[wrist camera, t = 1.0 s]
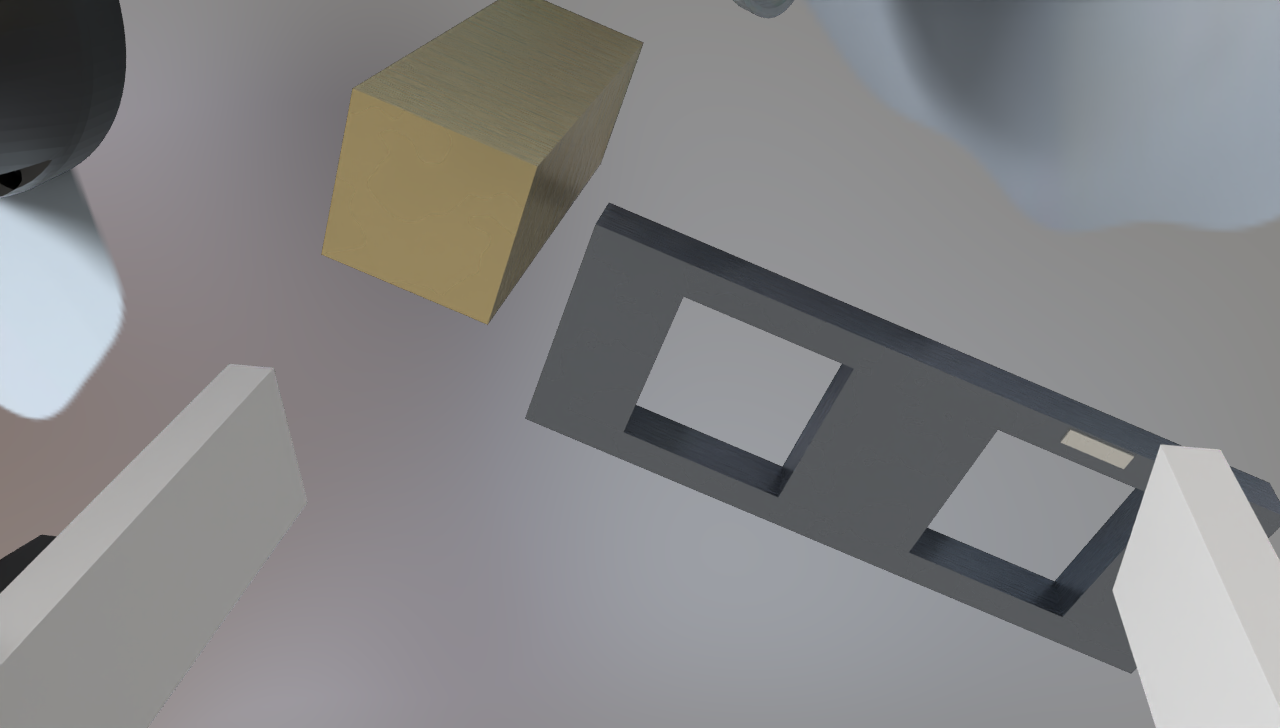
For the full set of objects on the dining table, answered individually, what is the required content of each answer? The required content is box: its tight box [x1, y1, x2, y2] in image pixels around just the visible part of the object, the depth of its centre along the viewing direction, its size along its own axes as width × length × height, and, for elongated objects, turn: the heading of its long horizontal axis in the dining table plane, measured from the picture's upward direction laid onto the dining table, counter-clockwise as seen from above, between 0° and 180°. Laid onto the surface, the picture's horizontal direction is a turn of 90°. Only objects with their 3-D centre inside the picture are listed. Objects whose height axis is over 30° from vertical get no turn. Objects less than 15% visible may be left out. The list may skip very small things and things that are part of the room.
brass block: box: [322, 0, 643, 325], centre depth 28 cm, size 4×4×12 cm
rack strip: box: [525, 203, 1280, 673], centre depth 37 cm, size 26×9×2 cm, turn 70°
